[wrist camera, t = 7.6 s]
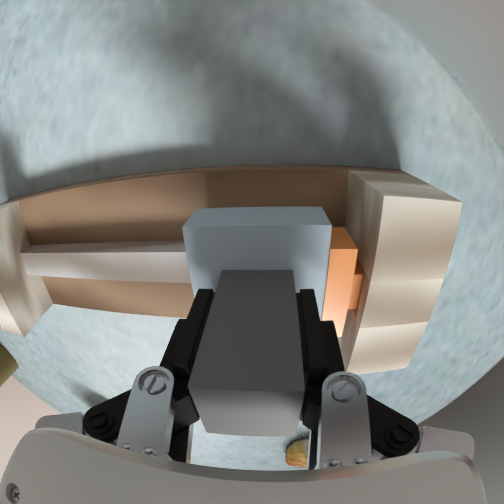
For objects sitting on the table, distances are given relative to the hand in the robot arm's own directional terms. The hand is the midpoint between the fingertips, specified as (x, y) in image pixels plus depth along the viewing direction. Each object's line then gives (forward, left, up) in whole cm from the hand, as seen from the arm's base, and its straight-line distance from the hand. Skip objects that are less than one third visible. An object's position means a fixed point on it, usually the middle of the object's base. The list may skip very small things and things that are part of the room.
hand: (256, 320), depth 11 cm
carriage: (0, 0, -5) cm, 5 cm away
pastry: (+33, +7, -8) cm, 34 cm away
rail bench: (0, -7, -7) cm, 10 cm away
